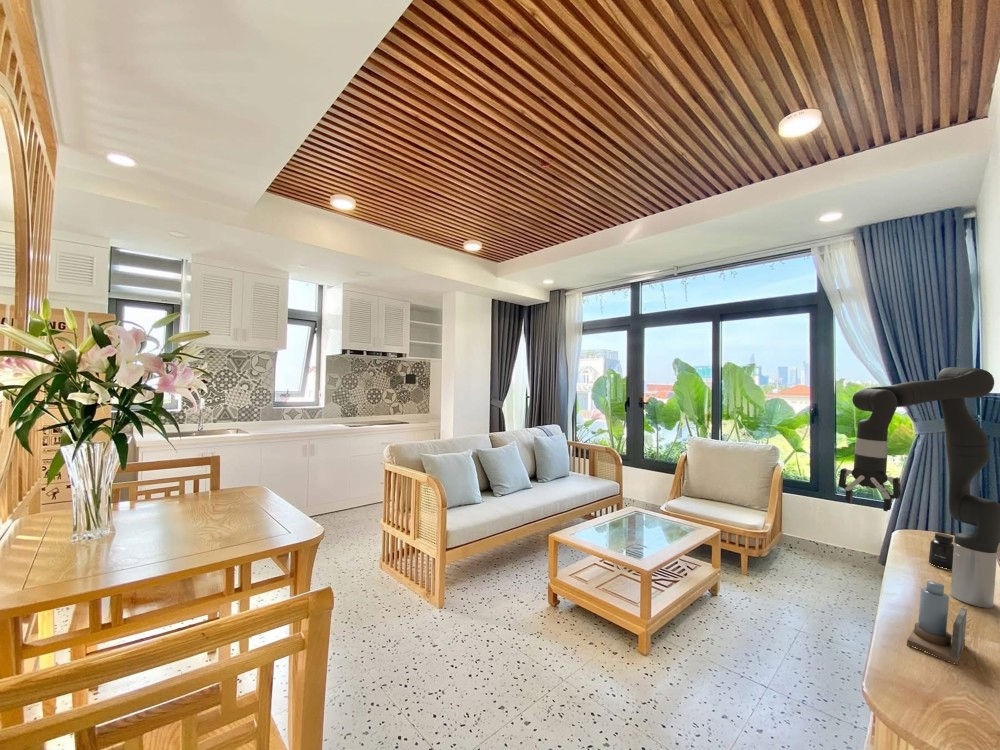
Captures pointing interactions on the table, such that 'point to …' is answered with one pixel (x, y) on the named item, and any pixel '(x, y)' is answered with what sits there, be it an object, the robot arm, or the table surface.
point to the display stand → (942, 640)
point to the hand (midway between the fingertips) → (867, 506)
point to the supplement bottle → (941, 551)
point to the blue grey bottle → (933, 609)
